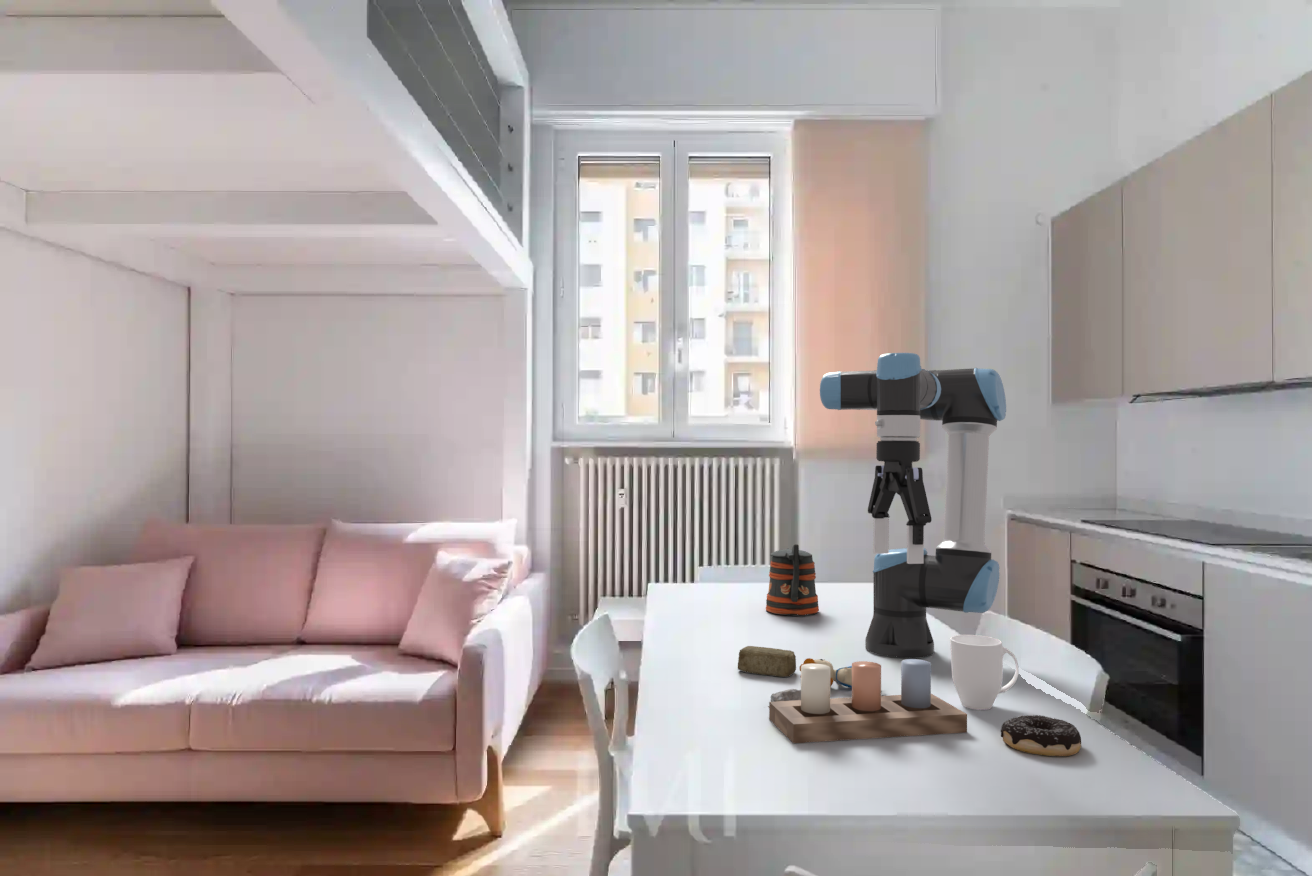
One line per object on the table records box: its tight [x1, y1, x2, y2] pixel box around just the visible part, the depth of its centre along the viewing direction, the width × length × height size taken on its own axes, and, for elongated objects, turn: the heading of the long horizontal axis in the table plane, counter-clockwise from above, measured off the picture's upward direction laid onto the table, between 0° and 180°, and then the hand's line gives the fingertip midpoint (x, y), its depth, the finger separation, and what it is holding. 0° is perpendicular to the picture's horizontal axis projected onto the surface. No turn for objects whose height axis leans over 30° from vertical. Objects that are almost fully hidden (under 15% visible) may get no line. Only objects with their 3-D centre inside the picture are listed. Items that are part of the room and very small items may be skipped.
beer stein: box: [765, 543, 820, 617], centre depth 242 cm, size 19×15×20 cm
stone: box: [767, 688, 801, 708], centre depth 157 cm, size 6×12×4 cm, turn 136°
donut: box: [1000, 714, 1082, 757], centre depth 138 cm, size 11×12×4 cm
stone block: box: [737, 645, 797, 678], centre depth 180 cm, size 6×12×5 cm, turn 65°
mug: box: [949, 634, 1020, 711], centre depth 159 cm, size 12×9×12 cm
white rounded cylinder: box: [800, 664, 831, 714], centre depth 145 cm, size 5×5×7 cm
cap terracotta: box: [851, 660, 882, 711], centre depth 147 cm, size 5×5×7 cm
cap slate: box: [900, 658, 932, 708], centre depth 149 cm, size 5×5×7 cm
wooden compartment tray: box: [768, 693, 968, 744], centre depth 147 cm, size 30×12×3 cm, turn 101°
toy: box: [799, 657, 852, 690], centre depth 169 cm, size 12×6×15 cm
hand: (897, 558), depth 157 cm, fingers open, 13 cm apart
